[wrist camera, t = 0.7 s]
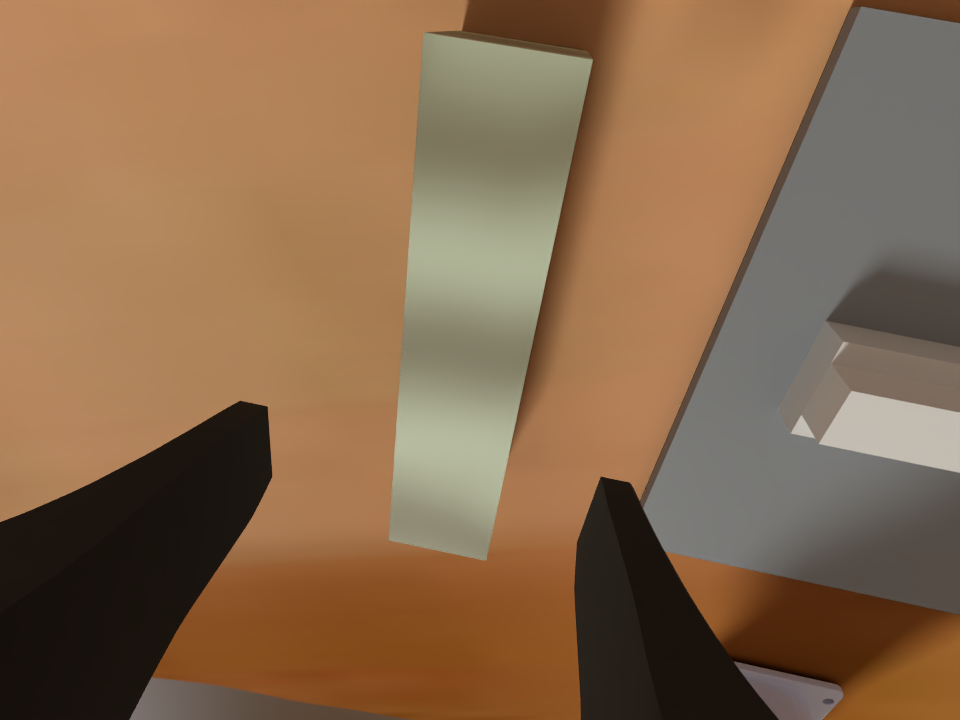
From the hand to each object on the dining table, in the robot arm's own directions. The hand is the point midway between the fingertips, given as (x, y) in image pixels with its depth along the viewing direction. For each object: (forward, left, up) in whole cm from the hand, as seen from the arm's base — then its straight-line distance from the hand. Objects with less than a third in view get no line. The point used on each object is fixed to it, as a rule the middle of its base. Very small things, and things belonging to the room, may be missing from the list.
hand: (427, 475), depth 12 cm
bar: (0, 0, -10) cm, 10 cm away
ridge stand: (0, -16, -9) cm, 19 cm away
